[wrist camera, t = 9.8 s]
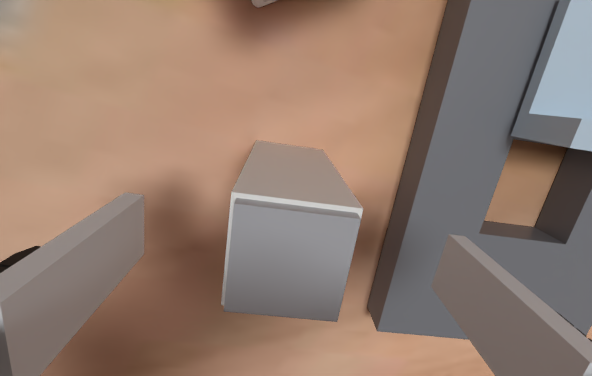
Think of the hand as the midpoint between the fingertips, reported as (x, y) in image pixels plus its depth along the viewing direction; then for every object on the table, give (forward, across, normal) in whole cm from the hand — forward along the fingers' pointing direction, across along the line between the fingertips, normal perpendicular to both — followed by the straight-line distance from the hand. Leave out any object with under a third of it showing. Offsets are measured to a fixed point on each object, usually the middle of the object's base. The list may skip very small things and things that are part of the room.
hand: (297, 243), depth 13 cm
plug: (+11, 0, 0) cm, 11 cm away
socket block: (+11, +18, +2) cm, 21 cm away
